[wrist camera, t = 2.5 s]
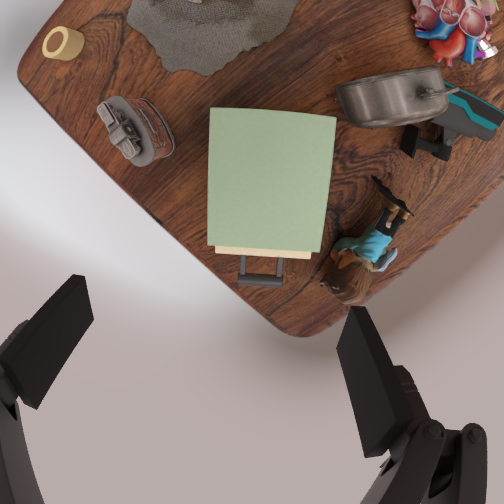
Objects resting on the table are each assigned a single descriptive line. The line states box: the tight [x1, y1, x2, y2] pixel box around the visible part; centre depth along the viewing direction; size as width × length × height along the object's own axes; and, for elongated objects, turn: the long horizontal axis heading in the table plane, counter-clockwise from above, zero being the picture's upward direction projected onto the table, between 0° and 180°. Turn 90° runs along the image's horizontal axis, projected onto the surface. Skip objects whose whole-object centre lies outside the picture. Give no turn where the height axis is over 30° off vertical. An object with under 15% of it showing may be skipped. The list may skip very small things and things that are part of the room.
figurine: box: [319, 175, 414, 304], centre depth 33 cm, size 8×16×6 cm, turn 154°
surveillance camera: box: [400, 81, 504, 161], centre depth 26 cm, size 6×12×10 cm
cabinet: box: [208, 108, 336, 252], centre depth 29 cm, size 13×11×9 cm
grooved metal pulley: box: [474, 31, 499, 61], centre depth 21 cm, size 5×3×5 cm, turn 130°
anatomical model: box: [411, 0, 492, 67], centre depth 19 cm, size 11×6×15 cm
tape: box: [43, 26, 85, 61], centre depth 23 cm, size 4×4×4 cm
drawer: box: [215, 246, 311, 288], centre depth 31 cm, size 16×9×7 cm, turn 177°
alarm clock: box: [334, 66, 459, 130], centre depth 21 cm, size 11×5×16 cm, turn 112°
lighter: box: [97, 95, 176, 167], centre depth 26 cm, size 8×3×10 cm, turn 30°
